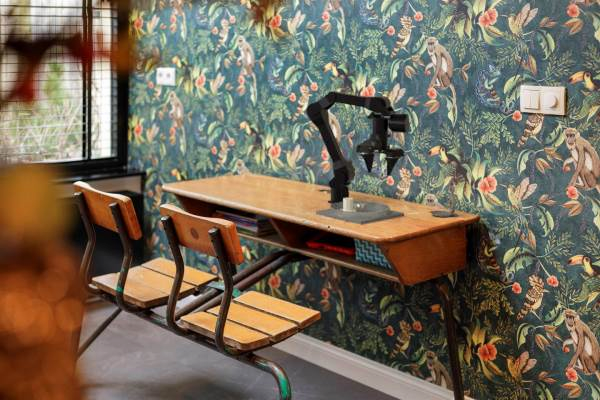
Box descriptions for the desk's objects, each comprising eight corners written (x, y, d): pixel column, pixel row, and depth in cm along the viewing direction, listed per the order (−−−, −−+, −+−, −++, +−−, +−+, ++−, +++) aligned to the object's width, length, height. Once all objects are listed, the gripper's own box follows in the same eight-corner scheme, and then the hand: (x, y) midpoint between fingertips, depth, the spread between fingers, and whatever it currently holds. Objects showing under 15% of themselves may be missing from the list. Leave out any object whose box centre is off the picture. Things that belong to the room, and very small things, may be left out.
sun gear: (350, 211, 278) (350, 203, 277) (359, 210, 281) (359, 201, 280) (360, 214, 274) (360, 205, 274) (369, 212, 278) (369, 203, 277)
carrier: (316, 214, 279) (316, 205, 278) (358, 206, 293) (358, 197, 292) (361, 224, 263) (361, 215, 262) (403, 215, 277) (404, 206, 277)
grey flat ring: (318, 211, 278) (318, 205, 278) (358, 203, 292) (359, 198, 292) (361, 221, 263) (361, 215, 263) (401, 212, 277) (402, 207, 277)
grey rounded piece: (427, 215, 279) (429, 186, 277) (445, 212, 284) (446, 184, 282) (444, 219, 272) (446, 190, 270) (462, 216, 277) (463, 188, 275)
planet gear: (336, 214, 274) (336, 198, 273) (347, 212, 278) (348, 196, 277) (348, 216, 270) (348, 200, 269) (359, 214, 274) (359, 198, 273)
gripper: (346, 130, 289) (345, 173, 292) (384, 135, 276) (383, 179, 278) (367, 128, 296) (365, 170, 299) (405, 133, 283) (404, 176, 286)
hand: (378, 174), depth 291 cm, fingers open, 9 cm apart
